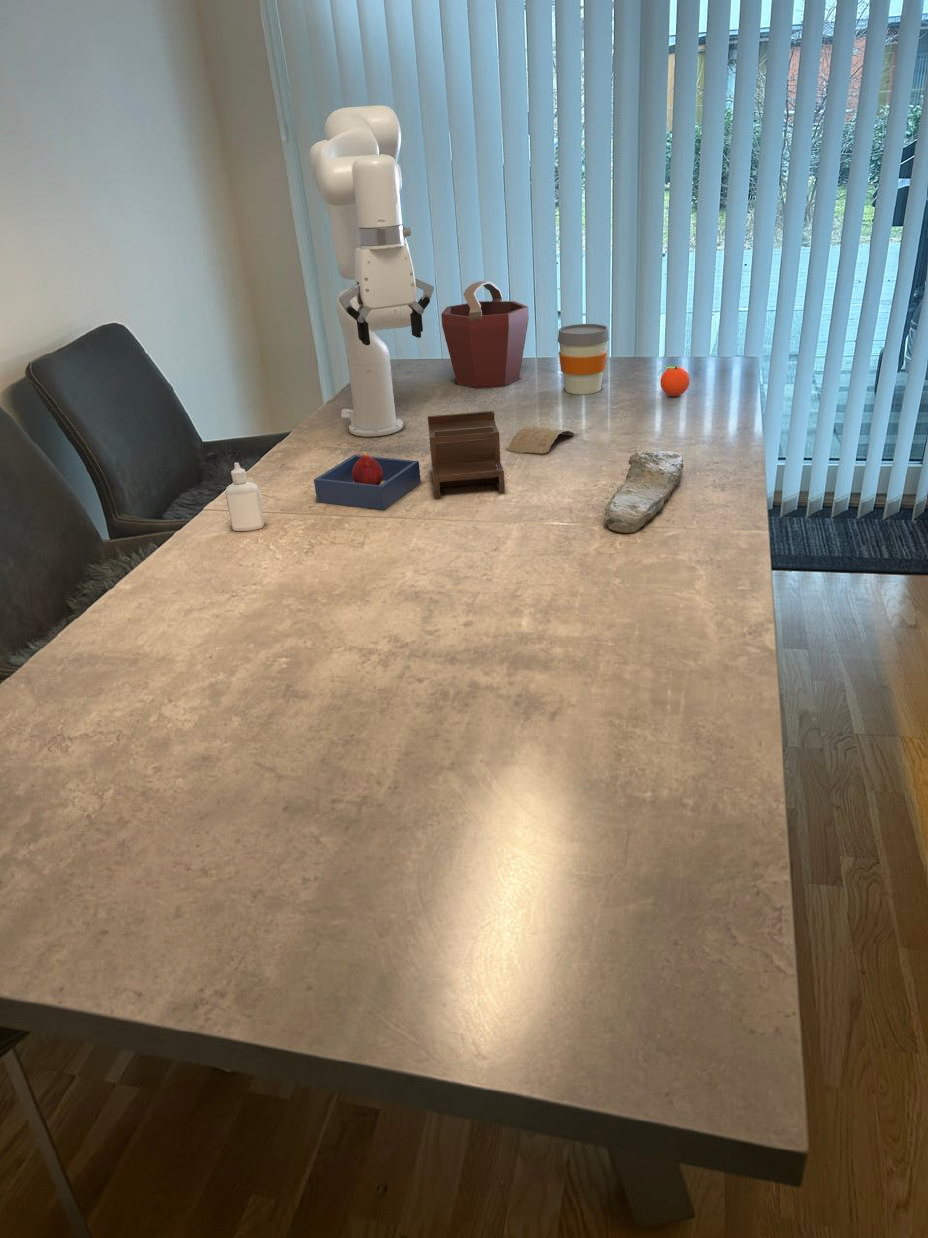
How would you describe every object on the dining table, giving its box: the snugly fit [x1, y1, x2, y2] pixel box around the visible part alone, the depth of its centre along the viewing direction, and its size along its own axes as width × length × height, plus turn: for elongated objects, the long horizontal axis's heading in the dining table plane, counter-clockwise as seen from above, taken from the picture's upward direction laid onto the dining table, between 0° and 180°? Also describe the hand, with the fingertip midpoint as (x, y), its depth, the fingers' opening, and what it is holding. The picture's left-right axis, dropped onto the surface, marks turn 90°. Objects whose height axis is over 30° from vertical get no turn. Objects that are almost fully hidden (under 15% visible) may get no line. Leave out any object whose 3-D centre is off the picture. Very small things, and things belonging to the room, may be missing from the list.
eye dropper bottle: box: [224, 462, 265, 532], centre depth 156 cm, size 4×6×12 cm
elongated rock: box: [603, 450, 684, 534], centre depth 159 cm, size 35×5×10 cm
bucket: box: [440, 280, 530, 389], centre depth 235 cm, size 24×22×25 cm
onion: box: [352, 451, 383, 485], centre depth 169 cm, size 6×6×8 cm
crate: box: [313, 454, 422, 511], centre depth 169 cm, size 15×15×4 cm
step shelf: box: [427, 410, 506, 500], centre depth 169 cm, size 15×13×12 cm
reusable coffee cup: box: [557, 323, 610, 395], centre depth 222 cm, size 13×13×15 cm
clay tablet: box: [507, 425, 576, 454], centre depth 190 cm, size 14×10×3 cm
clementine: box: [657, 365, 691, 397], centre depth 214 cm, size 8×7×7 cm
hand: (391, 340), depth 160 cm, fingers open, 9 cm apart
